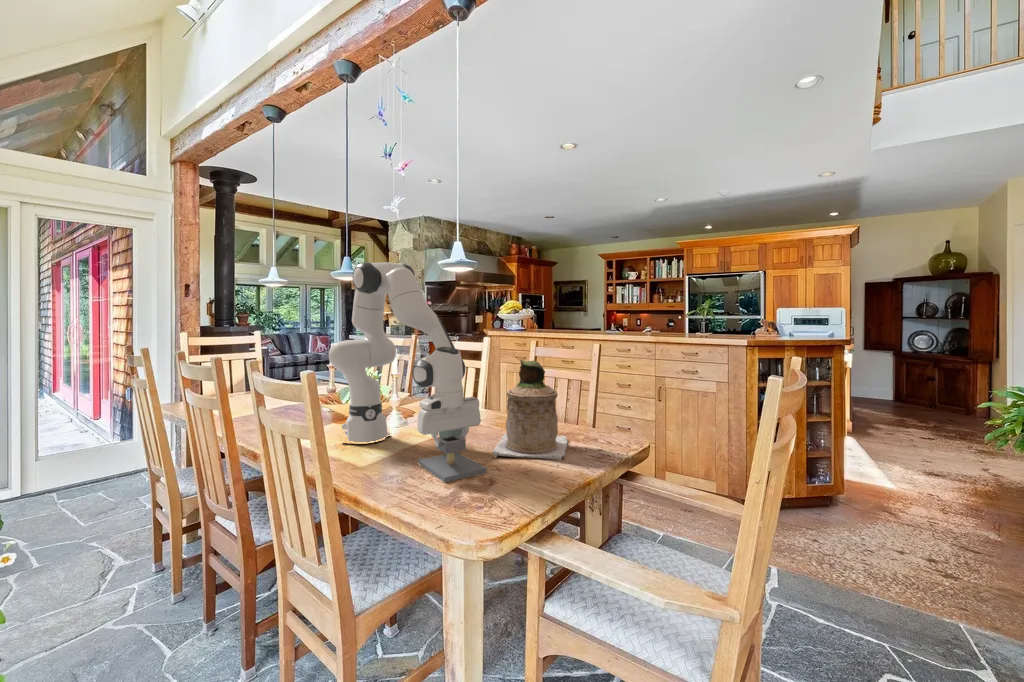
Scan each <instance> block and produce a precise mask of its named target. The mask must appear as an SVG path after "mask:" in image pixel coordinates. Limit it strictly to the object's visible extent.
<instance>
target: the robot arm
mask: <svg viewBox="0 0 1024 682" xmlns="http://www.w3.org/2000/svg"><path fill="white" fill-rule="evenodd" d="M352 283H353V286H354V287H355V291H354V297H353V306H352V315H351V323H352V325H353V327H354V328H355V329H356V330H357V331H359V332H361V333H363V335H364V336H363V338H362V339H345V340H342V341H339V342H338V341H337V342H334V343H333V344H332V345H331V346H330V348H329V350H328V360H329V362H330V364H331V366H333V368H335V369H336V370H337V371H339V372H340V373H341V374H342V375H343V376H344V378H345V379H346V382H347V384H348V385H347V386H348V389H349V399H350V400H349V401H350V404H349V407H348V414H349V416H348V417H347V419H346V420H345V423H342V424H341V430H342V431H343V430H345V431H344V432H345V435H347V436H348V441H354V442H370V441H376V440H379V439H382V438H384V437H386V436H387V435H390V434H391V435H392V433H391V432H388V425H387V424H388V423H387V417H386V416H387V415H385V414H383V413H382V412H383V404H382V402H381V384H380V383H379V381H378V380H377V379H376V378H374V377H371V376H370V375H368V374H367V371H366V368H376V367H383V366H386V365H389V364H392V363H393V362H394V361H395V359H396V357H397V347H396V345H395V344H394V341H392V340H391V339H390V338H389V337H388V336H387V334H386V332H385V330H384V314H385V307H386V296H387V295H388V301H389V304H390V306H391V310H392V312H393V315H394V316H395V318H396V319H397V321H398V322H399V323H400V324H403V325H405V326H406V327H411V328H413V329H417V330H419V331H422V333H423V332H424V333H425V334H426V335H427V336H428V337H429V338H430V340H431V342H432V343H433V345H434V347H435V349H434V351H433V352H432V353H431V354H429V355H427V356H423V357H422V358H418V359H417V360H416V361H415V362H414V364H413V366H412V372H411V373H412V379H413V381H414V382H415V383H416V385H417V386H419V387H421V388H432V387H434V393H433V394H432V395H430V396H428V397H426V398H424V399H421V400H420V401H419V407H420V409H419V411H418V414H417V431H418V432H419V434H421V435H424V436H425V435H426V436H427V435H431V437H432V438H433V440H434V446H435V447H439V446H442V444H441V443H442V441H441V440H438V438H439V432H444V431H449V430H455V429H461V428H462V430H463V432H462V435H461V436H459V437H461V438H463V439H465V440H466V441H467V439H466V438H467V435H468V432H469V431H470V428H472V427H477V426H479V425H480V423H481V422H482V421H481V412H480V400H479V399H478V398H477V397H475V396H469V397H468V396H467V397H464V396H465V395H464V386H463V378H464V376H465V374H466V364H465V361H464V360H463V358H462V355H461V352H460V351H459V349H457V348H456V347H455V345H454V344H453V341H452V340H451V337H450V335H449V333H448V331H447V329H446V327H445V325H444V324H443V321H442V319H441V318H440V317H439V315H438V314H437V313H436V312H434V310H432V308H431V307H430V305H429V304H428V303H427V301H426V299H425V297H424V295H423V292H422V291H423V290H422V289H421V286H420V284H419V282H418V280H417V278H416V273H415V271H414V269H413V268H412V266H411V265H408V264H405V263H398V262H396V263H395V262H392V261H391V262H389V261H383V262H381V261H379V262H361V263H358V264H357V265H356V266H355V268H354V269H353V272H352Z"/></svg>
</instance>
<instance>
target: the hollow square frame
mask: <svg viewBox="0 0 1024 682" xmlns="http://www.w3.org/2000/svg"><path fill="white" fill-rule="evenodd" d="M437 438H438V440H441V441H442V443H441V444H442V446H439V447H436V446H435V447H436V450H438V451H439V452H441V453H444V454H448V453H453V452H458V451H459V452H462V451H466V450H467V448H466V447H467V445H466V443H467V442H466V441H467V439H466V440H465V439H463V438H461V437H459V436H457V435H453V436H448V437H442V438H440V437H437ZM459 452H458V453H459Z"/></svg>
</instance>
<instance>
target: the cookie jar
mask: <svg viewBox="0 0 1024 682" xmlns="http://www.w3.org/2000/svg"><path fill="white" fill-rule="evenodd" d="M519 362H520V366H519V370H518V375H519V382H518V383H517V384H516V385H515V386H514V387H513V388H510V389H508V390H507V391H506V397H507V402H506V403H507V406H506V410H507V411H506V412H507V413H506V414H507V417H506V422H505V431H506V433H504V434H503V435H502V436H501V438H500V441H499V442H498V444H497V445H496V446H495V447H494V448H493V449H492V453H493V455H494V458H495V457H497V458H498V457H499V456H500V457H511V458H515V457H516V458H533V459H535V458H536V459H547V460H548V459H549V460H554V459H556V460H557V461H561V460H562V458H563V457H565V456H566V450H567V447H568V445H567V444H568V437H567V436H566V435H558V433H559V429H558V415H557V408H556V406H557V404H556V399H557V397H558V392H557V390H555V389H554V388H553V387H551V386H550V385H546V384H545V382H544V380H545V374H546V370H545V369H544V367H543V366H542V365H541V364H540V363H539V362H538V361H535V360H526V361H525V360H523V359H522V358H521V359H519Z"/></svg>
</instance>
